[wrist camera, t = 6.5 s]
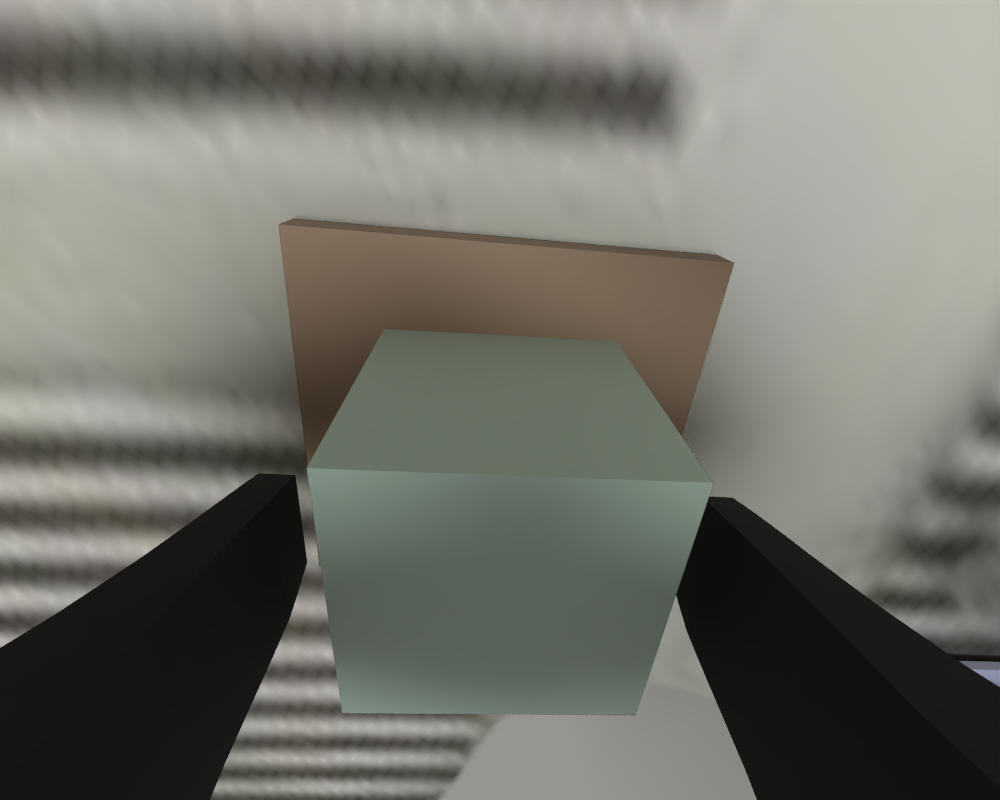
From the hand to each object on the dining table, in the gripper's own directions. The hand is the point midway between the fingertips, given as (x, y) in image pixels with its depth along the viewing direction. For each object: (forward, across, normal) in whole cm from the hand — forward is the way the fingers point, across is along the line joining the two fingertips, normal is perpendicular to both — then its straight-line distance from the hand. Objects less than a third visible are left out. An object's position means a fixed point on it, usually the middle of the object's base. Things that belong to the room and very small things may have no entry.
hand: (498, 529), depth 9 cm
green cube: (+3, 0, 0) cm, 3 cm away
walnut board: (+4, 0, 0) cm, 4 cm away
